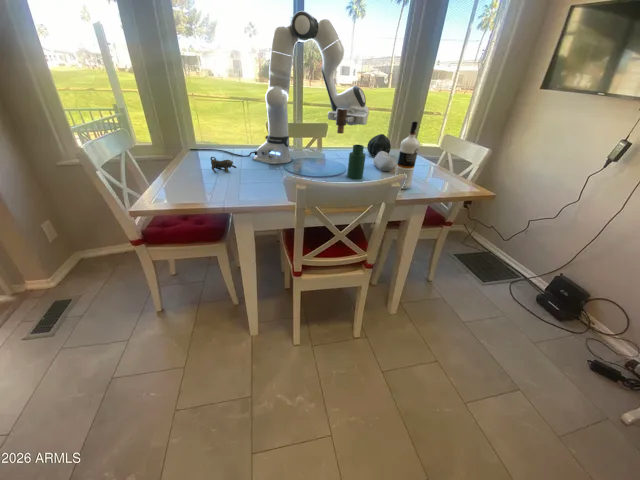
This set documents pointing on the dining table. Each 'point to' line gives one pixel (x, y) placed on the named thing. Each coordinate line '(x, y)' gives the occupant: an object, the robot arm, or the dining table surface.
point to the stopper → (341, 119)
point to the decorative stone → (384, 161)
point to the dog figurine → (221, 164)
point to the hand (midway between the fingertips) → (340, 119)
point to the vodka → (408, 156)
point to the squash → (379, 144)
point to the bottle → (356, 163)
